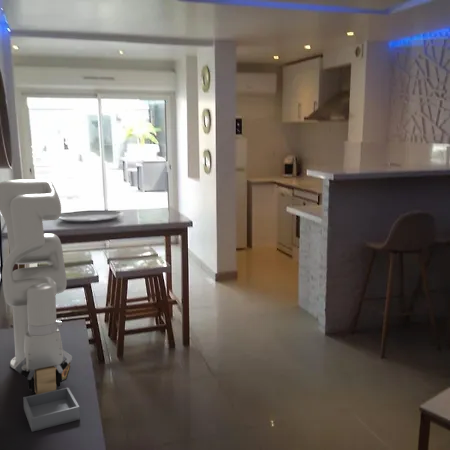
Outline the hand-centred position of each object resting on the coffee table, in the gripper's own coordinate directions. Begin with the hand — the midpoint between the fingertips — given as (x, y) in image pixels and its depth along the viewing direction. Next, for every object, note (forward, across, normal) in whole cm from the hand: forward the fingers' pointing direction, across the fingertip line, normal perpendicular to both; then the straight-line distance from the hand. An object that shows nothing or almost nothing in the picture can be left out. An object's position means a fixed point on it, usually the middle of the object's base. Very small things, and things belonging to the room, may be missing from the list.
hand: (45, 387), depth 143 cm
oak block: (+2, 0, 0) cm, 2 cm away
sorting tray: (+2, +1, +13) cm, 13 cm away
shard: (+2, -5, -11) cm, 12 cm away
